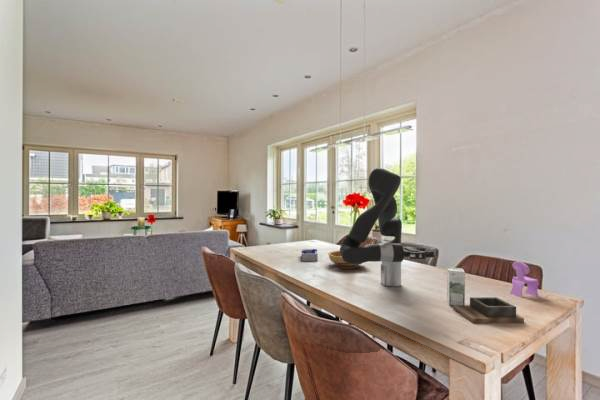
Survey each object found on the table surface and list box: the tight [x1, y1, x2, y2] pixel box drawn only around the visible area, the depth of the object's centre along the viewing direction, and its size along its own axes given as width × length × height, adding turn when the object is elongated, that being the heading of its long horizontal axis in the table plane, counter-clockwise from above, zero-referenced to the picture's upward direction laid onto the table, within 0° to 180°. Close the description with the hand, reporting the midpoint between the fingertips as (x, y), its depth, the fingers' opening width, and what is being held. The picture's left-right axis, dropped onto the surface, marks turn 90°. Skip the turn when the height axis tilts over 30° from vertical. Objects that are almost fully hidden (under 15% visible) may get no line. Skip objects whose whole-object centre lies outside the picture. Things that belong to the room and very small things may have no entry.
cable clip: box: [301, 248, 318, 254], centre depth 216 cm, size 12×4×6 cm, turn 132°
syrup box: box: [446, 267, 466, 307], centre depth 124 cm, size 6×6×14 cm
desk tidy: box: [301, 248, 319, 262], centre depth 216 cm, size 10×18×5 cm, turn 1°
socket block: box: [452, 296, 525, 324], centre depth 112 cm, size 18×13×5 cm
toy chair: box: [509, 260, 539, 298], centre depth 136 cm, size 8×9×15 cm
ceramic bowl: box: [327, 250, 363, 269], centre depth 192 cm, size 30×24×8 cm
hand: (429, 252), depth 123 cm, fingers open, 8 cm apart
